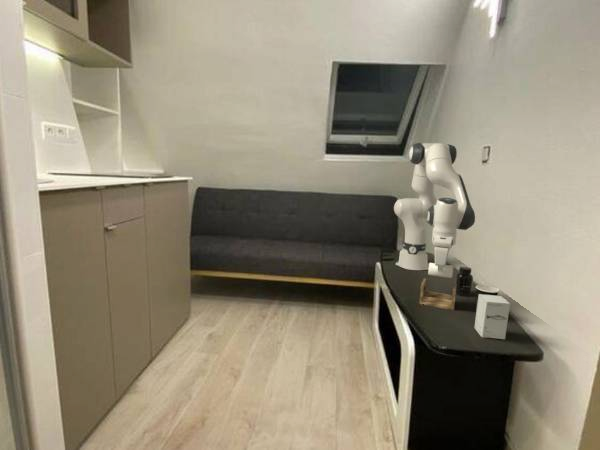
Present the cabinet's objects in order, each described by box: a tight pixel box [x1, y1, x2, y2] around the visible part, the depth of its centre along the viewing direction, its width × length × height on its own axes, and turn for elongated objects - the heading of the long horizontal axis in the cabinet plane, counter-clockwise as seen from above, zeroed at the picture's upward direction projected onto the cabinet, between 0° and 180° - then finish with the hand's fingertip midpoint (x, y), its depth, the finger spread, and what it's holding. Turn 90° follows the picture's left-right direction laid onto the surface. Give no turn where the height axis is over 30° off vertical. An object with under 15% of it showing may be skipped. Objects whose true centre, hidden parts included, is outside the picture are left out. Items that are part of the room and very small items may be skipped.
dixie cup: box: [475, 284, 500, 312], centre depth 130 cm, size 8×8×11 cm
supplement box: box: [474, 294, 511, 340], centre depth 115 cm, size 7×7×13 cm
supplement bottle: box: [454, 266, 474, 297], centre depth 153 cm, size 7×7×12 cm
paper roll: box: [427, 262, 454, 279], centre depth 140 cm, size 9×5×5 cm, turn 64°
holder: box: [418, 278, 457, 311], centre depth 141 cm, size 13×10×8 cm
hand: (440, 272), depth 140 cm, fingers closed on paper roll, 5 cm apart
